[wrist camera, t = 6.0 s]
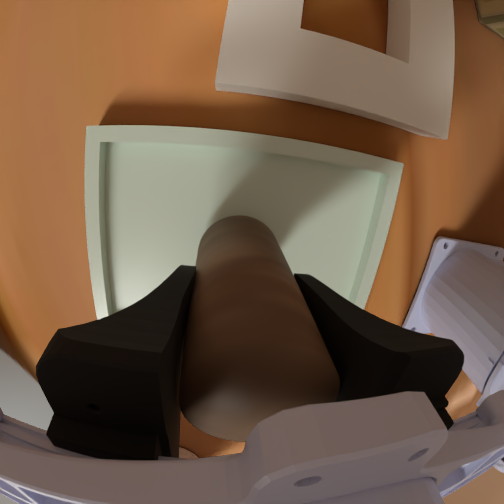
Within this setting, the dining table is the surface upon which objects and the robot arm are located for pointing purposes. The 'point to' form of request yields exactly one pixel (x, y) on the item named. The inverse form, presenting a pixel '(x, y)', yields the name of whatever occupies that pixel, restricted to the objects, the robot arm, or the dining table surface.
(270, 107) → the dining table surface
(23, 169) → the dining table surface
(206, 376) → the walnut pin
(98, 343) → the robot arm
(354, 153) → the sage tray
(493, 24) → the food packaging
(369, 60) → the holder block
